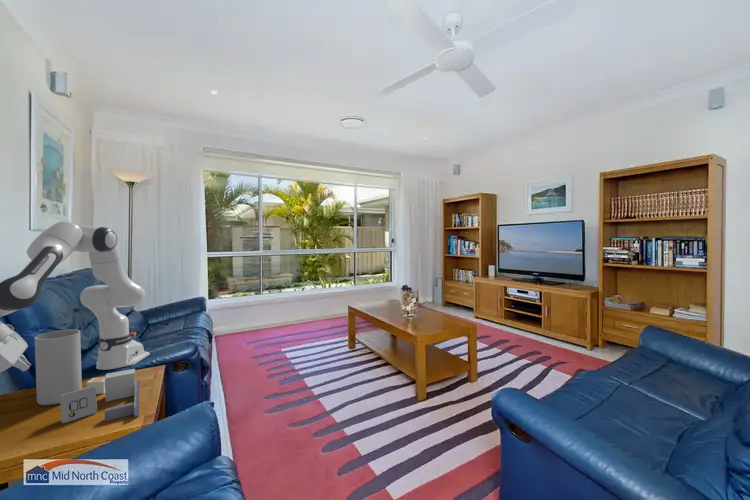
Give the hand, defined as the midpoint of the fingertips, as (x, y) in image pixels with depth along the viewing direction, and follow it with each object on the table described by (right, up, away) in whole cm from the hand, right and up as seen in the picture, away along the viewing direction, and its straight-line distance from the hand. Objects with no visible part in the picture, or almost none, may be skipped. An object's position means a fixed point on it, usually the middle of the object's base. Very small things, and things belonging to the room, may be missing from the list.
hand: (27, 368), depth 106 cm
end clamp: (+25, -19, +7) cm, 32 cm away
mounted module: (+14, -19, +21) cm, 32 cm away
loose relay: (+2, -19, +25) cm, 31 cm away
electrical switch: (+10, -20, +7) cm, 23 cm away
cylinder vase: (-8, -19, +19) cm, 28 cm away
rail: (+24, -19, +17) cm, 35 cm away
